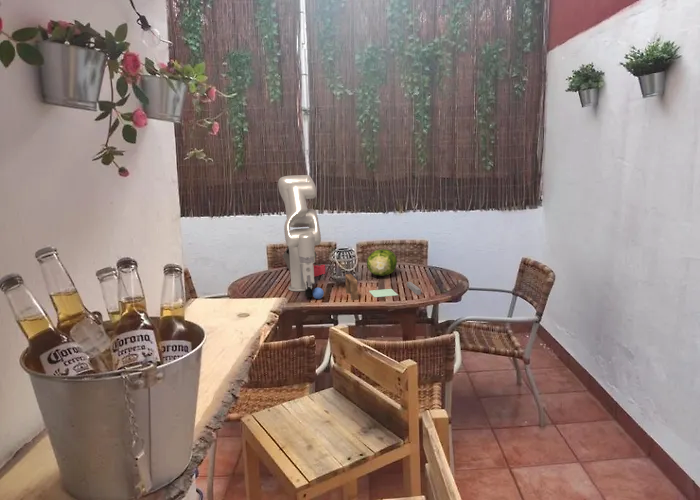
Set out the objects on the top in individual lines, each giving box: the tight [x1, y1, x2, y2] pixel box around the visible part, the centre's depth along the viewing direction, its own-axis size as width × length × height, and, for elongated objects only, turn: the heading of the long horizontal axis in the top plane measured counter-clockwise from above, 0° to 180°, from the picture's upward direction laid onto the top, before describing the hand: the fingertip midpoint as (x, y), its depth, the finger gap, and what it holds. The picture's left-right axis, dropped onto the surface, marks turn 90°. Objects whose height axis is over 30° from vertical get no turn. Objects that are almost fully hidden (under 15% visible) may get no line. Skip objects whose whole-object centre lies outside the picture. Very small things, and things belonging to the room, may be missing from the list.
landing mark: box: [368, 288, 399, 298], centre depth 263 cm, size 12×12×1 cm
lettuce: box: [366, 248, 398, 277], centre depth 295 cm, size 16×21×15 cm
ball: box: [312, 287, 325, 300], centre depth 256 cm, size 6×6×6 cm
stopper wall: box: [406, 281, 422, 296], centre depth 266 cm, size 16×2×2 cm, turn 11°
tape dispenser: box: [313, 263, 326, 278], centre depth 306 cm, size 14×10×5 cm
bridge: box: [344, 273, 359, 301], centre depth 259 cm, size 3×15×9 cm, turn 11°
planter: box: [282, 246, 318, 272], centre depth 319 cm, size 17×8×21 cm
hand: (309, 296), depth 256 cm, fingers closed
